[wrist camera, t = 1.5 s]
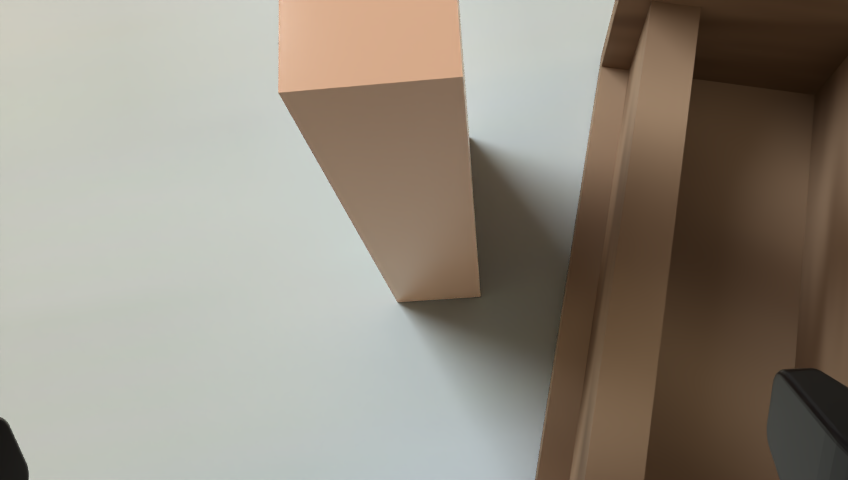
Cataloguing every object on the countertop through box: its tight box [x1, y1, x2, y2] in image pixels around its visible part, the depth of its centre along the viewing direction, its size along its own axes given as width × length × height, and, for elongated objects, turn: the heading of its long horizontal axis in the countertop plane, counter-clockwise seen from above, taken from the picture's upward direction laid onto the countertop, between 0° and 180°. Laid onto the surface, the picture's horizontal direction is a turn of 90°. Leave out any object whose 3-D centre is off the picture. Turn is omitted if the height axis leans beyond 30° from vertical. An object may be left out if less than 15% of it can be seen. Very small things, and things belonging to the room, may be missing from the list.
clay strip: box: [278, 0, 481, 302], centre depth 17 cm, size 5×2×13 cm, turn 3°
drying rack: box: [535, 0, 848, 480], centre depth 18 cm, size 14×8×8 cm, turn 169°
